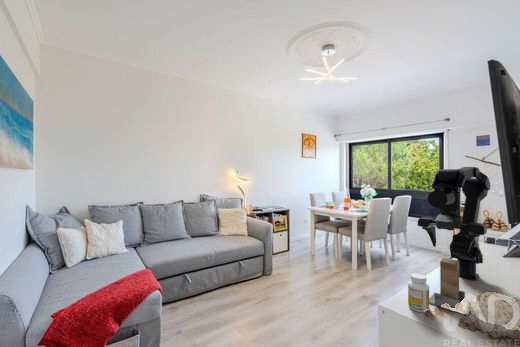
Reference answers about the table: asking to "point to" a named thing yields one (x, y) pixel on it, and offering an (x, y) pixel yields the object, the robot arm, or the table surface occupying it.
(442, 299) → the clip
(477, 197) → the robot arm
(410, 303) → the supplement bottle
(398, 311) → the table surface
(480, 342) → the table surface
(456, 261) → the brown wooden block
